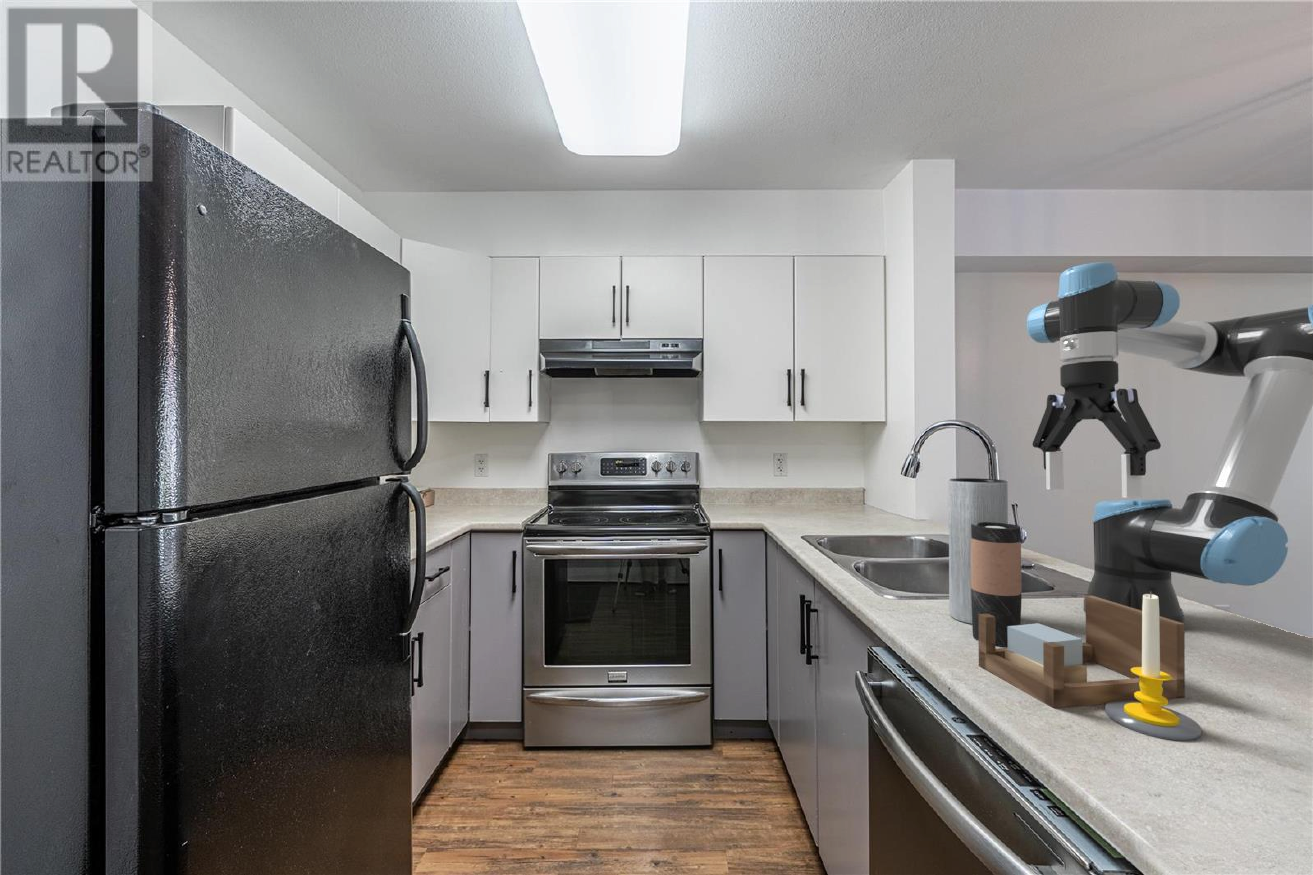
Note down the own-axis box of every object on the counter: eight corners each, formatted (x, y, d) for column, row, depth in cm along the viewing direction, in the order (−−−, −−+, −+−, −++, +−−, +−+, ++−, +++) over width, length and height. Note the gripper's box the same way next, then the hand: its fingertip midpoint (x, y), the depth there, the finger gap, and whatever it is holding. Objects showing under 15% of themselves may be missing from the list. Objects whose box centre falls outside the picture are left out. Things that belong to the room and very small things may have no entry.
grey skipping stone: (1146, 702, 76) (1146, 697, 76) (1222, 737, 68) (1222, 732, 68) (1087, 707, 75) (1087, 702, 75) (1156, 743, 66) (1156, 738, 66)
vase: (1020, 622, 109) (1019, 480, 109) (983, 629, 105) (982, 482, 105) (973, 608, 118) (972, 477, 118) (937, 614, 115) (937, 479, 115)
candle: (1178, 731, 68) (1178, 599, 68) (1121, 716, 71) (1121, 591, 71) (1179, 716, 72) (1179, 591, 72) (1125, 702, 75) (1125, 583, 75)
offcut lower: (1041, 672, 87) (1041, 646, 87) (1086, 695, 79) (1086, 666, 79) (1005, 674, 86) (1004, 647, 86) (1047, 698, 78) (1046, 669, 78)
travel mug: (1029, 649, 96) (1029, 529, 96) (979, 645, 97) (979, 528, 97) (1011, 633, 103) (1010, 522, 103) (965, 630, 105) (964, 521, 105)
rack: (1092, 658, 92) (1092, 595, 92) (1184, 697, 78) (1184, 623, 78) (978, 665, 89) (978, 601, 89) (1053, 707, 75) (1053, 631, 75)
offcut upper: (1038, 646, 87) (1038, 623, 87) (1082, 664, 80) (1082, 638, 80) (1007, 649, 86) (1007, 626, 86) (1049, 668, 79) (1049, 642, 79)
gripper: (1008, 370, 105) (1010, 487, 105) (1146, 350, 80) (1149, 502, 80) (1044, 370, 106) (1046, 485, 106) (1191, 350, 81) (1193, 500, 81)
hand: (1090, 493), depth 93 cm, fingers open, 13 cm apart
